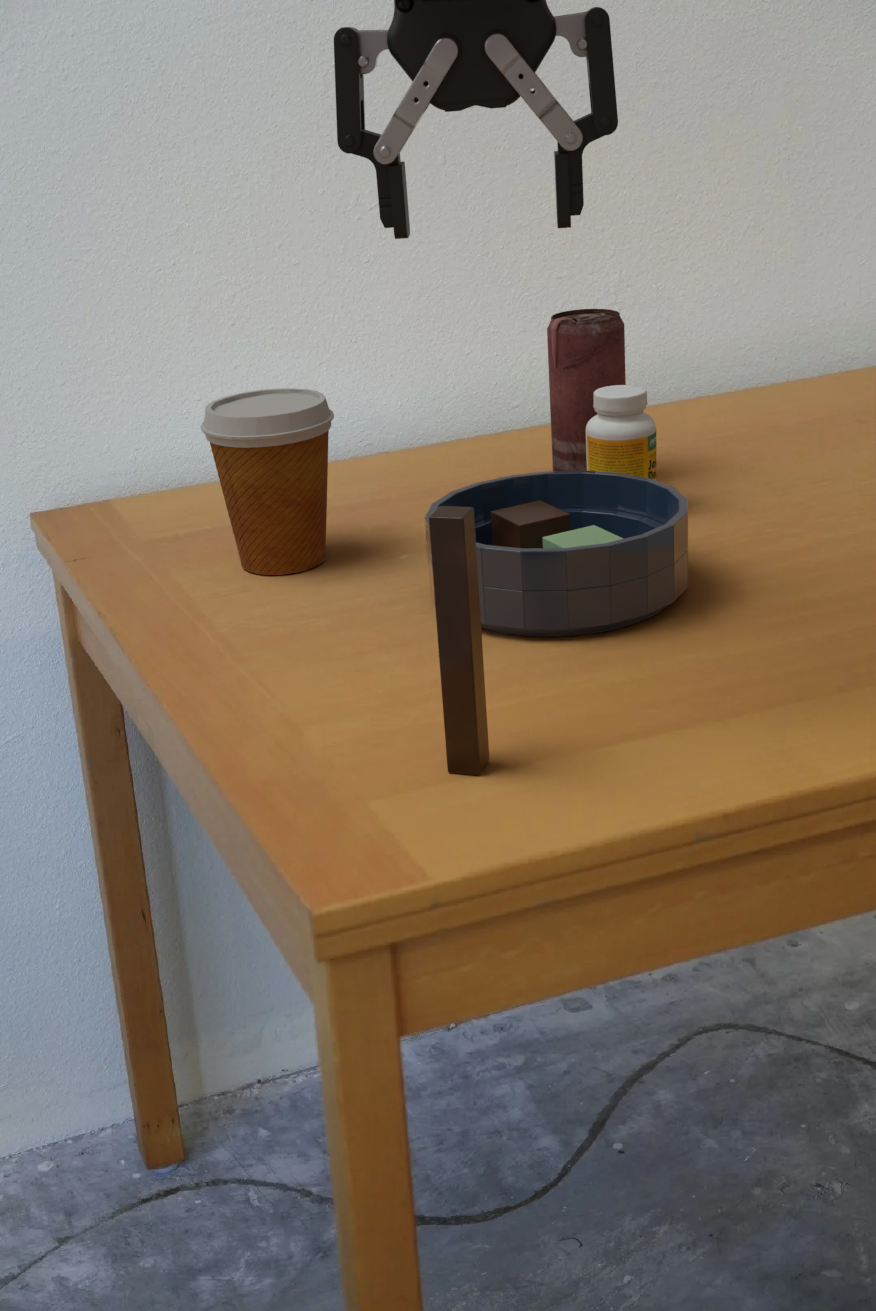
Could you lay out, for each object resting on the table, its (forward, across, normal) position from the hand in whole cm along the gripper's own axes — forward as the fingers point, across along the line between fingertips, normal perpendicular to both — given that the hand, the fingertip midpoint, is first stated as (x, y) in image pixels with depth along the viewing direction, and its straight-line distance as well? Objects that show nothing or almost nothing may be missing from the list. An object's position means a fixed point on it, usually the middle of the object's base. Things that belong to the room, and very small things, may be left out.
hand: (483, 231), depth 78 cm
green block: (+25, +5, +10) cm, 27 cm away
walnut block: (+25, +2, +16) cm, 30 cm away
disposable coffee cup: (+26, -17, +23) cm, 38 cm away
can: (+26, +6, +38) cm, 47 cm away
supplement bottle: (+26, +9, +30) cm, 41 cm away
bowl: (+26, +3, +13) cm, 29 cm away
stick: (+26, -2, -12) cm, 28 cm away
